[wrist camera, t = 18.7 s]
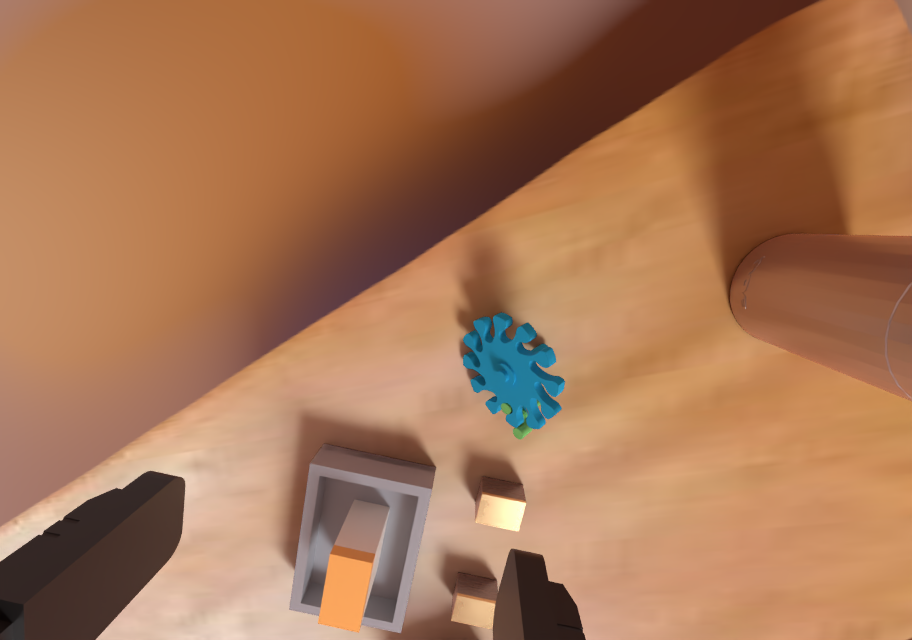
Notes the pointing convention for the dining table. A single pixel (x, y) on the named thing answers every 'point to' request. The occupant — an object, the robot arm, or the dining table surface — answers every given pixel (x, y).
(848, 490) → the dining table surface
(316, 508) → the tray
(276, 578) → the dining table surface
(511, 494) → the small blocks
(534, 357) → the gear
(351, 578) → the orange-topped block
